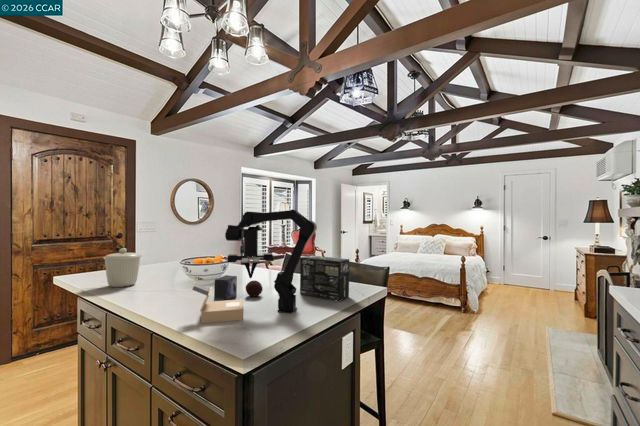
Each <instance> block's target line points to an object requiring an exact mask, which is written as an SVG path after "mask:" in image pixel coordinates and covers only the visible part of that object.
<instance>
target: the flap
mask: <svg viewBox="0 0 640 426" xmlns="http://www.w3.org/2000/svg"><path fill="white" fill-rule="evenodd" d="M212 289H213V287H212V286H211V287H210V288H208V287H206V286H203V285H201V284H199V283H194V285H193V287H192V290H193V291H195V292H196V293H200V294H202V295H204V296H206V297H204V298H205V299H204V300H203V303H202V305H201V307H200V310H199V312H201V311H202V309H203V307H204V305H205V303H206V302H208V299H209V297H210V295H211V292H212Z"/></svg>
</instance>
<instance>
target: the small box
mask: <svg viewBox="0 0 640 426" xmlns="http://www.w3.org/2000/svg"><path fill="white" fill-rule="evenodd" d="M237 281H238V276H237V275H228V274H227V275H223V276H220V277H217V278H215V279H214V286H213V289H214V290H213V291H214V292H213V293H214V296H213V301H225V300H235V299H236V298H237V294H238V293H237V290H238V289H237V288H238V287H237V286H238V285H237V283H238V282H237Z"/></svg>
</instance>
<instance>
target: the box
mask: <svg viewBox="0 0 640 426" xmlns="http://www.w3.org/2000/svg"><path fill="white" fill-rule="evenodd" d="M299 270H300V272H299V274H300V276H299V281H300V282H299V295H302V296H307V297H314V298H320V299H325V300H329V299H331V300H330V301H334V300H337V301H336V302H341V301H343V300H345V299H348V298H349V296H350V293H349V291H350V259H349V258H341V257H331V256H320V255H312V254H311V255H306V256H301V258H300V269H299ZM342 299H343V300H342ZM340 300H341V301H340Z"/></svg>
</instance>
